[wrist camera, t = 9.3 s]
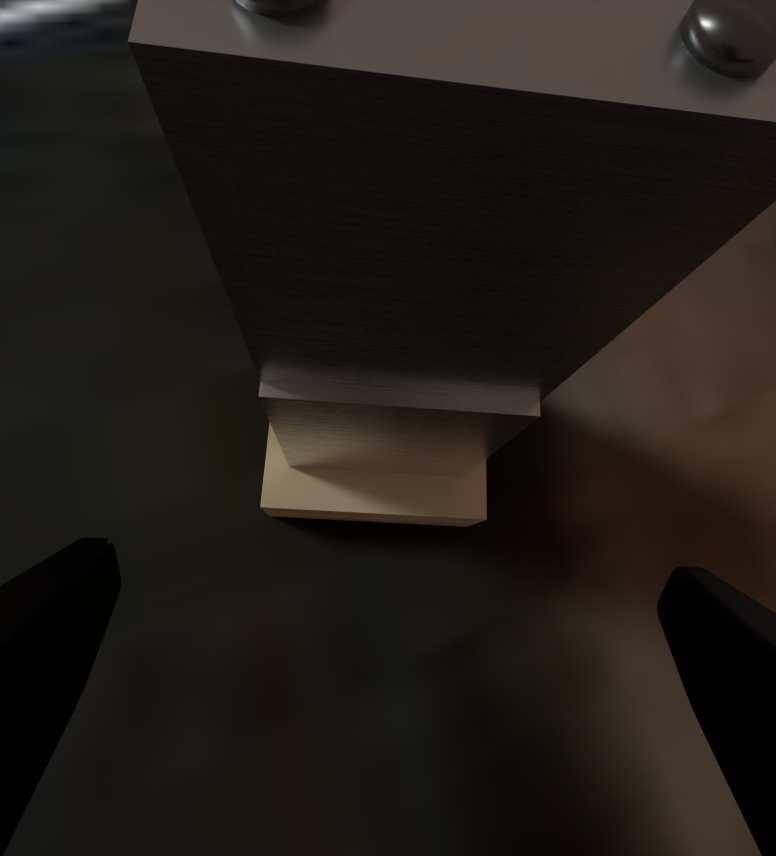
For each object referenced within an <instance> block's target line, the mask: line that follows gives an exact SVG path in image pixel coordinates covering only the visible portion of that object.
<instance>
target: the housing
mask: <svg viewBox="0 0 776 856" xmlns="http://www.w3.org/2000/svg"><path fill="white" fill-rule="evenodd" d="M128 43H129V46H130V48H131V51H132V53H133V56H134V58H135V61H136V64H137V66H138V69H139V71H140V74H141V76H142V79H143V81H144V84H145V87H146V89H147V92H148V94H149V97H150V99H151V102H152V105H153V107H154V110H155V112H156V115H157V117H158V120H159V123H160V125H161V128H162V130H163V133H164V135H165V138H166V141H167V143H168V146H169V148H170V151H171V153H172V156H173V159H174V161H175V164H176V166H177V169H178V171H179V174H180V176H181V179H182V182H183V184H184V187H185V189H186V192H187V194H188V197H189V200H190V202H191V205H192V207H193V210H194V212H195V215H196V218H197V220H198V223H199V225H200V228H201V230H202V233H203V236H204V238H205V241H206V243H207V246H208V248H209V251H210V253H211V256H212V259H213V261H214V264H215V266H216V269H217V271H218V274H219V277H220V279H221V282H222V284H223V287H224V289H225V292H226V295H227V297H228V300H229V302H230V305H231V307H232V310H233V313H234V315H235V318H236V320H237V323H238V325H239V328H240V331H241V333H242V336H243V338H244V341H245V343H246V346H247V348H248V351H249V354H250V356H251V359H252V361H253V364H254V366H255V369H256V372H257V374H258V377H259V379H260V389H259V398H260V401H261V403H262V405H263V408H264V410H265V412H266V415H267V417H268V419H269V422H270V424H271V426H272V429H273V431H274V433H275V435H276V438H277V440H278V442H279V445H280V447H281V449H282V452H283V454H284V456H285V459H286V461H287V463H288V466H289V467H303V468H320V469H336V470H353V471H370V472H386V473H403V474H420V475H436V476H453V477H464V476H465V475H466V474H467V473H469V472H470V471H471V470H473V469H474V468H475V467H476V466H478V465H479V464H480V463H481V462H483V461H484V460H485V459H487V458H488V457H489V456H490V455H492V454H493V453H494V452H496V451H497V450H498V449H499V448H501V447H502V446H503V445H504V444H506V443H507V442H508V441H510V440H511V439H512V438H513V437H515V436H516V435H517V434H519V433H520V432H521V431H522V430H524V429H525V428H526V427H528V426H529V425H530V424H531V423H533V422H534V421H535V420H536V419H538V418H539V417H540V402H541V401H542V400H543V399H544V398H545V397H546V396H548V395H549V394H550V393H551V392H552V391H553V390H555V389H556V388H557V387H558V386H559V385H560V384H562V383H563V382H564V381H565V380H566V379H567V378H569V377H570V376H571V375H572V374H573V373H574V372H576V371H577V370H578V369H579V368H580V367H582V366H583V365H584V364H585V363H586V362H587V361H589V360H590V359H591V358H592V357H593V356H594V355H596V354H597V353H598V352H599V351H600V350H601V349H603V348H604V347H605V346H606V345H607V344H608V343H610V342H611V341H612V340H613V339H614V338H615V337H617V336H618V335H619V334H620V333H621V332H622V331H624V330H625V329H626V328H627V327H628V326H630V325H631V324H632V323H633V322H634V321H635V320H637V319H638V318H639V317H640V316H641V315H642V314H644V313H645V312H646V311H647V310H648V309H649V308H651V307H652V306H653V305H654V304H655V303H656V302H658V301H659V300H660V299H661V298H662V297H663V296H665V295H666V294H667V293H668V292H669V291H670V290H672V289H673V288H674V287H675V286H676V285H678V284H679V283H680V282H681V281H682V280H683V279H685V278H686V277H687V276H688V275H689V274H690V273H692V272H693V271H694V270H695V269H696V268H697V267H699V266H700V265H701V264H702V263H703V262H704V261H706V260H707V259H708V258H709V257H710V256H711V255H713V254H714V253H715V252H716V251H717V250H719V249H720V248H721V247H722V246H723V245H724V244H726V243H727V242H728V241H729V240H730V239H731V238H733V237H734V236H735V235H736V234H737V233H738V232H740V231H741V230H742V229H743V228H744V227H745V226H747V225H748V224H749V223H750V222H751V221H752V220H754V219H755V218H756V217H757V216H758V215H759V214H761V213H762V212H763V211H764V210H765V209H767V208H768V207H769V206H770V205H771V204H772V203H774V202H775V201H776V0H138V3H137V7H136V11H135V15H134V19H133V23H132V27H131V31H130V35H129V39H128Z"/></svg>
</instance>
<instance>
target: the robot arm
mask: <svg viewBox="0 0 776 856" xmlns="http://www.w3.org/2000/svg"><path fill="white" fill-rule="evenodd" d="M120 587H121V577H120V572H119V567H118V561H117V556H116V551H115V546H114V544H113V542H112V541H111V540H109V539H105V538H82V539H79V540H77V541H75V542H74V543H72V544H70V545H69V546H67V547H65V548H64V549H62V550H60V551H59V552H57V553H55V554H53V555H52V556H50V557H48V558H47V559H45V560H43V561H42V562H40V563H38V564H37V565H35V566H33V567H32V568H30V569H28V570H26V571H25V572H23V573H21V574H20V575H18V576H16V577H15V578H13V579H11V580H10V581H8V582H6V583H5V584H3V585H1V586H0V856H3V854H4V852H5V850H6V848H7V846H8V844H9V842H10V840H11V838H12V836H13V834H14V832H15V830H16V828H17V826H18V824H19V822H20V819H21V817H22V815H23V813H24V811H25V809H26V807H27V805H28V803H29V801H30V799H31V797H32V795H33V793H34V791H35V789H36V787H37V785H38V783H39V781H40V779H41V777H42V775H43V773H44V771H45V769H46V767H47V765H48V763H49V760H50V758H51V756H52V754H53V752H54V750H55V748H56V746H57V744H58V742H59V740H60V738H61V736H62V734H63V732H64V730H65V728H66V726H67V724H68V722H69V720H70V718H71V716H72V714H73V712H74V710H75V708H76V705H77V703H78V701H79V699H80V697H81V695H82V692H83V690H84V687H85V685H86V682H87V680H88V677H89V675H90V672H91V669H92V667H93V664H94V661H95V658H96V656H97V653H98V650H99V648H100V645H101V642H102V639H103V637H104V634H105V631H106V628H107V626H108V623H109V620H110V618H111V615H112V612H113V609H114V607H115V604H116V601H117V598H118V596H119V592H120ZM657 612H658V617H659V620H660V623H661V626H662V628H663V631H664V634H665V637H666V639H667V642H668V645H669V648H670V650H671V653H672V656H673V658H674V661H675V664H676V667H677V669H678V672H679V675H680V678H681V680H682V683H683V686H684V688H685V691H686V694H687V696H688V699H689V701H690V704H691V706H692V709H693V711H694V713H695V715H696V718H697V720H698V722H699V724H700V726H701V728H702V731H703V733H704V735H705V737H706V739H707V741H708V743H709V745H710V747H711V749H712V752H713V754H714V756H715V758H716V760H717V762H718V764H719V766H720V768H721V771H722V773H723V775H724V777H725V779H726V781H727V783H728V785H729V787H730V789H731V792H732V794H733V796H734V798H735V800H736V802H737V804H738V806H739V808H740V811H741V813H742V815H743V817H744V819H745V821H746V823H747V825H748V827H749V829H750V832H751V834H752V836H753V838H754V840H755V842H756V844H757V846H758V848H759V851H760V853H761V855H762V856H776V613H775V612H773V611H772V610H770V609H768V608H767V607H765V606H764V605H762V604H760V603H759V602H757V601H755V600H754V599H752V598H751V597H749V596H747V595H746V594H744V593H743V592H741V591H739V590H738V589H736V588H734V587H733V586H731V585H730V584H728V583H726V582H725V581H723V580H722V579H720V578H718V577H717V576H715V575H713V574H712V573H710V572H709V571H707V570H705V569H703V568H698V567H677V568H676V569H674V570H673V571H672V573H671V575H670V577H669V579H668V581H667V583H666V585H665V587H664V590H663V592H662V594H661V596H660V598H659V601H658V605H657Z"/></svg>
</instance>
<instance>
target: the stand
mask: <svg viewBox="0 0 776 856" xmlns="http://www.w3.org/2000/svg"><path fill="white" fill-rule="evenodd" d="M260 507H261V508H262V509H263V510H264V511H265V512H266V513H267V514H268V515H270V516H273V517H292V518H311V519H330V520H349V521H368V522H387V523H406V524H425V525H444V526H463V527H468V526H470V525H473V524H476V523H478V522H481V521H484V520H486V519H487V496H486V459H485V460H484V461H483V462H481V463H480V464H479V465H478V466H476V467H475V468H474V469H473V470H471V471H470V472H469V473H467V474H466V475H465V476H464V477H453V476H436V475H420V474H403V473H386V472H370V471H353V470H336V469H320V468H303V467H289V466H288V463H287V461H286V459H285V456H284V454H283V452H282V449H281V447H280V445H279V442H278V440H277V438H276V435H275V433H274V431H273V429H272V426H271V424H270V425H269V434H268V443H267V452H266V461H265V470H264V479H263V488H262V497H261V506H260Z"/></svg>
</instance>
